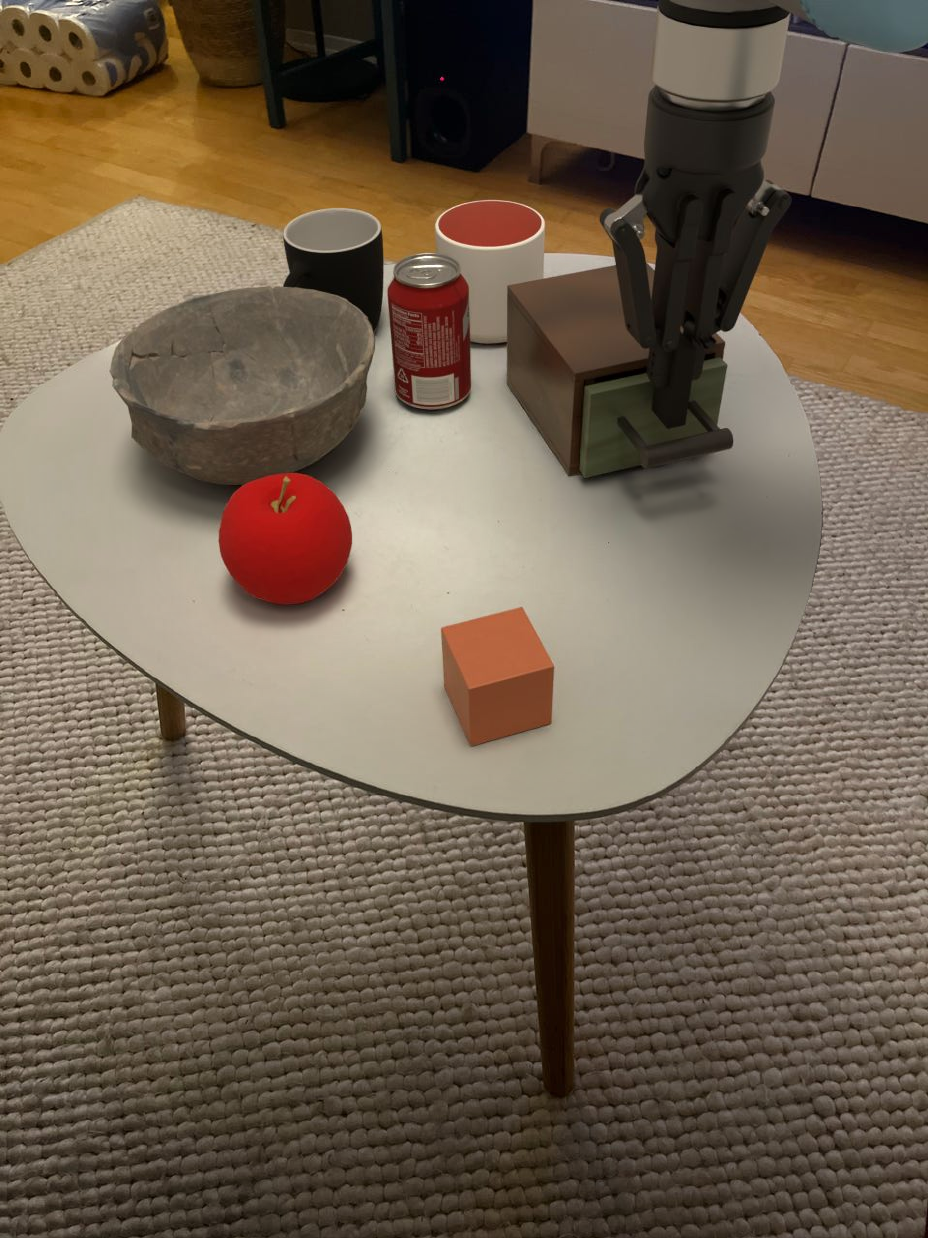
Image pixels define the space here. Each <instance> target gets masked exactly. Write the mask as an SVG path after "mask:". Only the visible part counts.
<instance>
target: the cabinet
mask: <svg viewBox="0 0 928 1238" xmlns="http://www.w3.org/2000/svg"><path fill="white" fill-rule="evenodd" d="M646 266H647V273H648V281H649V288H650V295H651V298H652V289H653V280H654V271H655V268H653V267H652V266H651V265H650V264H649V263H648V262H647V261H646ZM680 331H681V332H682V333H683V328H682V326H681V328H680ZM712 337H713V338H714V339H715V340H716V341H717V342H716V344H715V346H714V347H713V348H712V349H710V350H705V356H704V361H705V360H710V359H715V358H719V357H720V358H722V360H723V361H724V355H725V349H726V348H725V347H726V341H725V340H724V339H723V338H722V337H721V335H719V333H718V332H717V333H715V334H713V335H712ZM648 356H649V348H648V349H644V348H642V347H641V346H640V345H639V343H638V342H637V341H636V340H635V339H634V338H633V337H632V335H631V334H630V333H629V332H628V331H627V329H626V326H625V319H624V313H623V307H622V301H621V294H620V288H619V282H618V276H617V270H616V264H614V265H609V266H603V267H597V268H591V269H587V270H582V271H576V272H571V273H565V274H561V275H554V276H550V277H545V278H544V277H543V279H539V280H533V281H528V282H523V283H518V284H512V285H508V286H507V342H506V384H507V386H508V387H509V389H510V390H511V392H512V393H513V395H514V396H515V398H516V399H517V402H519V404H520V405H521V407H522V409H524V411H525V413H526V415H527V416H528V417H529V419H530V420H531V421H532V423H533V425H534V426H535V428H536V429H537V431H538V432H539V433H540V434H541V436H542V438H543V439H544V441H545V443H546V444H547V446H548V447H549V448H550V450H551V451H552V453H553V454H554V456H555V457H556V459H557V460H558V462H559V463H560V465H561V466H562V468H563V470H564V471H565V472H566V473H567V475H568V476H569V477H572V476H575V475H580V474H582V473H581V471H580V470H579V466H580V453H579V449H580V433H581V417H582V402H583V386H584V381H583V380H588V379H593V378H597V377H602V376H607V375H611V374H616V373H621V372H626V371H630V370H635V369H640V368H644V367H648V366H647V364H648Z"/></svg>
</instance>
